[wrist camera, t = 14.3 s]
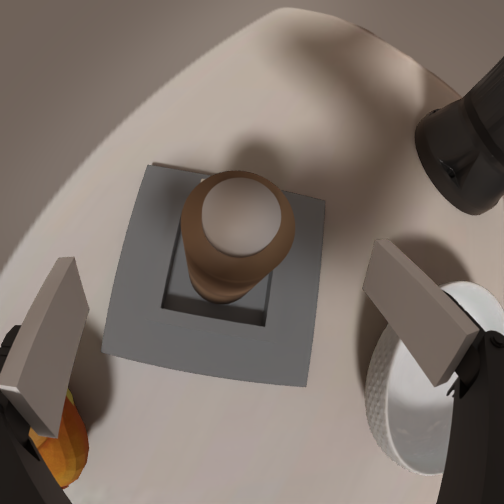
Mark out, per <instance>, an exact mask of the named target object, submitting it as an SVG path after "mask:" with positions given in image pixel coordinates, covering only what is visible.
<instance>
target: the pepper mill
mask: <svg viewBox="0 0 504 504" xmlns="http://www.w3.org/2000/svg"><path fill="white" fill-rule="evenodd" d="M181 232H182V238H183V244H184V250H185V256H186V261H187V267H188V272H189V278H190V281H191V284H192V286H193V288H194V290H195V291H196V292H197V294H198V295H199V296H201V297H202V298H203V299H205V300H207V301H208V302H211V303H215V304H230V303H233V302H235V301H237V300H239V299H241V298H242V297H243V296H244V295H245V294H247V293H248V292H249V291H250V290H251V289H252V288H253V287H254V286H256V285H257V284H258V283H259V282H260V281H261V280H262V279H263V278H265V277H266V276H267V275H268V274H269V273H270V272H271V271H272V270H273V269H275V268H276V267H277V266H278V265H279V264H280V263H281V262H282V261H283V260H284V258H285V257H286V256H287V254H288V253H289V251H290V249H291V246H292V244H293V241H294V236H295V218H294V214H293V210H292V208H291V205H290V203H289V202H288V200H287V198H286V197H285V195H284V194H283V193H282V191H281V190H280V189H279V188H278V187H277V186H275V185H274V184H273V183H272V182H270V181H269V180H267V179H265V178H263V177H261V176H259V175H257V174H254V173H250V172H245V171H226V172H222V173H218V174H215V175H212V176H210V177H208V178H206V179H205V180H203V181H202V182H201V183H199V184H198V185H197V186H196V187H195V188H194V189H193V190H192V192H191V193H190V194H189V196H188V197H187V199H186V201H185V204H184V206H183V209H182V214H181Z"/></svg>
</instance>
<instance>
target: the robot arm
mask: <svg viewBox="0 0 504 504" xmlns="http://www.w3.org/2000/svg"><path fill="white" fill-rule="evenodd" d="M415 140H416V147H417V151H418V154H419V157H420V159H421V162H422V164H423V166H424V168H425V170H426V172H427V174H428V175H429V177H430V179H431V180H432V182H433V183H434V185H435V186H436V187H437V189H438V190H439V191H440V192H441V194H442V195H443V196H444V197H445V198H446V199H447V200H448V201H449V202H450V203H451V204H452V205H454V206H455V207H456V208H458V209H459V210H461V211H463V212H465V213H467V214H470V215H480V214H483V213H484V212H486V211H488V210H490V209H491V208H493V207H494V206H495V205H496V204H497V203H498V201H499V199H500V198H501V197H502V196H503V195H504V57H503V58H502V59H501V60H500V61H499V62H498V63H497V64H496V65H495V66H494V67H493V68H492V69H491V70H490V71H489V72H488V73H487V74H486V75H485V76H484V77H483V78H482V79H481V80H480V81H479V82H478V83H477V84H476V85H475V86H474V87H473V88H472V89H471V90H470V91H469V92H468V93H467V94H466V95H465V96H464V97H463V98H462V99H460V100H457V101H455V102H453V103H451V104H449V105H447V106H445V107H444V108H442V109H436V110H433V111H431V112H430V113H428V114H427V115H426V116H425V117H424V118H423V119H422V120H421V121H420V123H419V124H418V126H417V128H416V133H415ZM362 289H363V290H364V291H365V292H366V294H367V295H368V296H369V298H370V299H371V300H372V302H373V303H374V304H375V306H376V307H377V308H378V309H379V311H380V312H381V313H382V315H383V316H384V317H385V319H386V320H387V322H388V323H389V324H390V326H391V327H392V328H393V330H394V331H395V332H396V334H397V335H398V337H399V338H400V339H401V341H402V342H403V343H404V345H405V346H406V348H407V349H408V350H409V352H410V353H411V355H412V356H413V358H414V359H415V360H416V362H417V363H418V365H419V366H420V368H421V369H422V370H423V372H424V373H425V375H426V376H427V378H428V379H429V381H430V382H431V384H432V385H433V387H434V388H435V387H437V386H439V385H442V384H444V383H446V382H448V381H449V379H450V378H451V376H452V375H453V373H454V372H456V374H457V375H458V377H457V379H456V380H455V382H454V383H453V384H452V386H451V387H450V389H449V390H448V391H447V394H446V396H449V395H450V393H451V392H452V391H453V390H454V394H453V395H452V397H453V398H454V401H453V412H452V422H451V430H450V438H449V445H448V451H447V457H446V463H445V468H444V473H443V478H442V483H441V487H440V491H439V495H438V499H437V503H436V504H504V335H502V334H501V333H499V332H497V331H493V330H490V331H487V332H486V331H485V330H484V329H483V328H482V327H481V326H480V325H479V324H478V323H477V322H476V321H475V319H474V318H473V317H472V316H471V315H470V314H469V313H468V312H467V311H465V310H464V308H463V307H462V306H461V305H459V303H458V302H457V301H456V300H455V299H454V298H453V297H452V296H451V295H450V294H448V293H447V292H445V291H444V290H442V289H441V288H440V287H439V286H437V285H436V284H435V283H434V282H433V281H432V280H431V279H430V278H429V277H428V276H427V275H426V274H425V273H424V272H423V271H422V270H421V269H420V268H419V267H418V266H417V265H416V264H415V263H414V262H413V261H412V260H410V259H409V258H408V257H407V256H406V255H405V254H404V253H403V252H402V251H401V250H400V249H399V248H397V247H396V246H395V245H394V244H393V243H392V242H391V241H390V240H389V239H378V240H375V242H374V246H373V250H372V254H371V258H370V262H369V266H368V270H367V274H366V277H365V281H364V285H363V288H362ZM89 310H90V309H89V306H88V303H87V300H86V297H85V293H84V290H83V287H82V283H81V280H80V276H79V273H78V269H77V265H76V261H75V257H62V258H58V260H57V261H56V263H55V265H54V266H53V268H52V270H51V271H50V273H49V275H48V277H47V278H46V280H45V282H44V284H43V285H42V287H41V289H40V291H39V293H38V294H37V296H36V298H35V300H34V302H33V304H32V306H31V308H30V309H29V311H28V313H27V315H26V317H25V319H24V321H23V323H22V325H15V326H14V327H13V328H12V329H11V330H10V331H9V332H8V333H7V334H6V336H5V338H4V340H3V342H2V344H1V348H0V504H72V503H71V501H70V500H69V498H68V497H67V496H66V494H65V493H64V491H63V490H62V488H61V487H60V485H59V484H58V482H57V481H56V479H55V478H54V476H53V475H52V473H51V471H50V470H49V468H48V466H47V465H46V463H45V461H44V460H43V458H42V456H41V455H40V453H39V451H38V449H37V447H36V446H35V444H34V442H33V440H32V439H31V438H30V436H29V431H30V427H31V428H32V429H33V430H34V431H35V432H36V433H37V434H38V436H44V437H50V438H57V439H58V433H59V427H60V422H61V417H62V412H63V407H64V402H65V397H66V393H67V388H68V384H69V380H70V376H71V372H72V368H73V364H74V360H75V356H76V353H77V349H78V346H79V342H80V339H81V335H82V332H83V329H84V325H85V322H86V319H87V316H88V313H89Z"/></svg>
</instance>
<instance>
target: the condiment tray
mask: <svg viewBox="0 0 504 504" xmlns="http://www.w3.org/2000/svg"><path fill="white" fill-rule="evenodd" d="M208 177H210V175H205V174H199V173H194V172H188V171H183V170H177V169H171V168H165V167H159V166H152V165H147V168H146V171H145V174H144V177H143V180H142V183H141V186H140V189H139V192H138V195H137V198H136V202H135V205H134V208H133V211H132V215H131V218H130V222H129V225H128V229H127V232H126V236H125V240H124V243H123V247H122V251H121V255H120V259H119V263H118V267H117V271H116V276H115V280H114V284H113V289H112V293H111V298H110V303H109V308H108V313H107V318H106V324H105V329H104V335H103V341H102V347H101V352H102V353H106V354H109V355H113V356H117V357H121V358H125V359H129V360H133V361H137V362H141V363H146V364H150V365H155V366H159V367H164V368H169V369H174V370H179V371H184V372H190V373H195V374H201V375H207V376H213V377H219V378H226V379H233V380H240V381H248V382H256V383H265V384H275V385H285V386H297V387H306V385H307V378H308V371H309V364H310V357H311V350H312V342H313V334H314V326H315V318H316V309H317V299H318V290H319V279H320V269H321V257H322V244H323V230H324V215H325V201H324V200H320V199H316V198H312V197H308V196H304V195H300V194H295V193H291V192H287V191H282V190H281V191H282V193H283V194H284V195H285V197H286V198H287V200H288V202H289V203H290V205H291V208H292V210H293V214H294V218H295V236H294V241H293V244H292V246H291V249H290V251H289V253H288V254H287V256H286V257H285V258H284V260H283V261H282V262H281V263H280V264H279V265H278V266H277V267H276V268H275V269H273V270H272V271H271V272H270V273H269V274H268V275H267V276H266V277H265V278H263V279H262V280H261V281H260V282H259V283H258V284H257V285H256V286H254V287H253V288H252V289H251V290H250V291H249V292H248V293H247V294H245V295H244V296H243V297H242V298H241V299H239V300H237V301H235V302H233V303H230V304H215V303H211V302H208V301H207V300H205V299H203V298H202V297H201V296H199V295H198V294H197V292H196V291H195V290H194V288H193V286H192V284H191V281H190V278H189V272H188V267H187V261H186V256H185V250H184V244H183V238H182V232H181V214H182V209H183V206H184V204H185V201H186V199H187V197H188V196H189V194H190V193H191V192H192V190H193V189H194V188H195V187H196V186H197V185H198V184H199V183H201V182H202V181H203V180H205V179H206V178H208Z"/></svg>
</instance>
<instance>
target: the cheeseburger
mask: <svg viewBox="0 0 504 504" xmlns="http://www.w3.org/2000/svg"><path fill="white" fill-rule="evenodd" d="M29 436H30V438H31V439H32V440H33V442H34V444H35V446H36V447H37V449H38V451H39V453H40V455H41V456H42V458H43V460H44V461H45V463H46V465H47V466H48V468H49V470H50V471H51V473H52V475H53V476H54V478H55V479H56V481H57V482H58V484H59V485H60V487H61V488H62V489H65V488H67V487H69V486H68V485H69V484H71V483H72V482H74V481H75V480H77V479H78V478H79V476H80V474H81V472H82V470H83V468H84V467H85V465H86V463H87V457H88V451H89V443H88V435H87V432H86V428H85V425H84V423H83V421H82V419H81V417H80V415H79V413H78V411H77V408H76V406H75V404H74V402H73V396H72V394H71V392H70V390H69V389H68V388H67V393H66V397H65V402H64V407H63V412H62V417H61V422H60V427H59V433H58V439H57V438H50V437H44V436H38V434H37V433H36V432H35V431H34V430H33V429H32V428H31V427H30V431H29Z"/></svg>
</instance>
